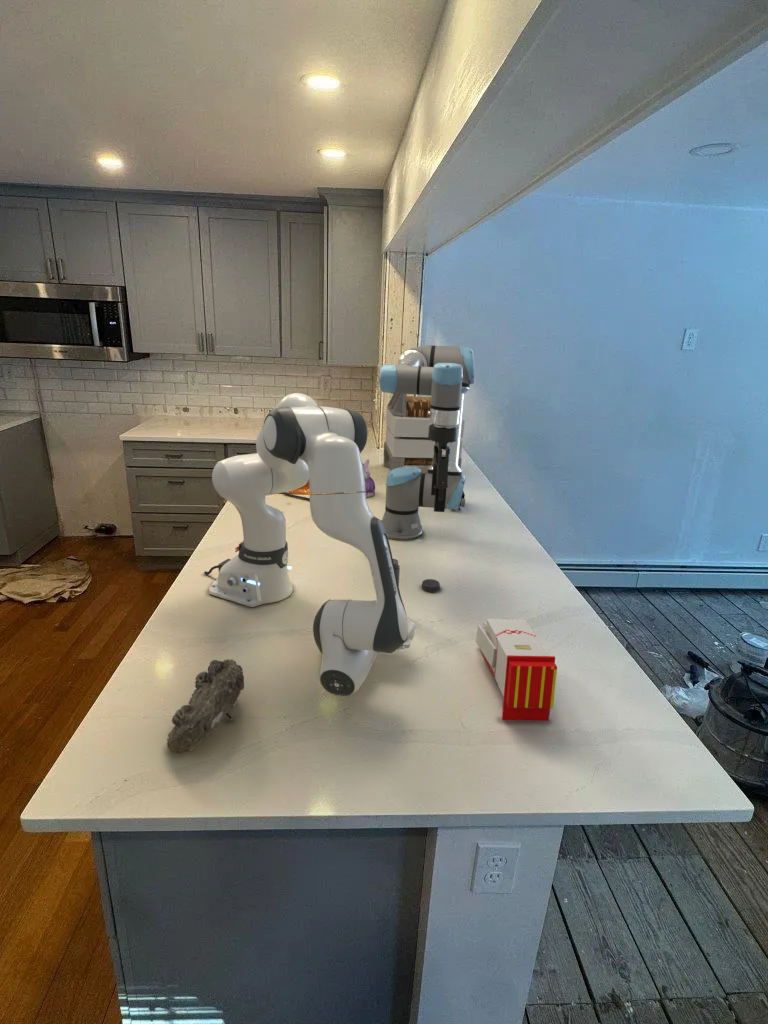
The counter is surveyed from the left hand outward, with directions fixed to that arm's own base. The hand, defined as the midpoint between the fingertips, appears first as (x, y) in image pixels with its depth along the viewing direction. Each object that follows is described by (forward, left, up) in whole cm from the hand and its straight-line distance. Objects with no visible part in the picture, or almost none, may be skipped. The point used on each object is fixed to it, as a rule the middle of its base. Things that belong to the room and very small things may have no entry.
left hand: (378, 611), depth 135 cm
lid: (+8, +29, -5) cm, 30 cm away
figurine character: (+4, +103, -7) cm, 103 cm away
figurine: (-35, +103, -7) cm, 109 cm away
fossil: (-22, -38, -7) cm, 44 cm away
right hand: (+8, +29, +19) cm, 36 cm away
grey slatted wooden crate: (-20, +146, -7) cm, 147 cm away
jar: (0, +12, -7) cm, 13 cm away
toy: (+32, -7, -7) cm, 33 cm away
